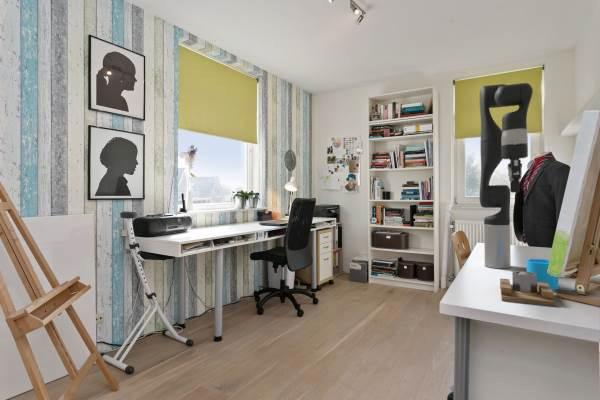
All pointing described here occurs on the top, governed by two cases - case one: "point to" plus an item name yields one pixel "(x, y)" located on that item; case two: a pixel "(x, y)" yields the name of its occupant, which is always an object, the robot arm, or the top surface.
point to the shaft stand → (540, 298)
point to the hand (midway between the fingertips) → (515, 192)
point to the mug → (542, 272)
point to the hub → (524, 282)
